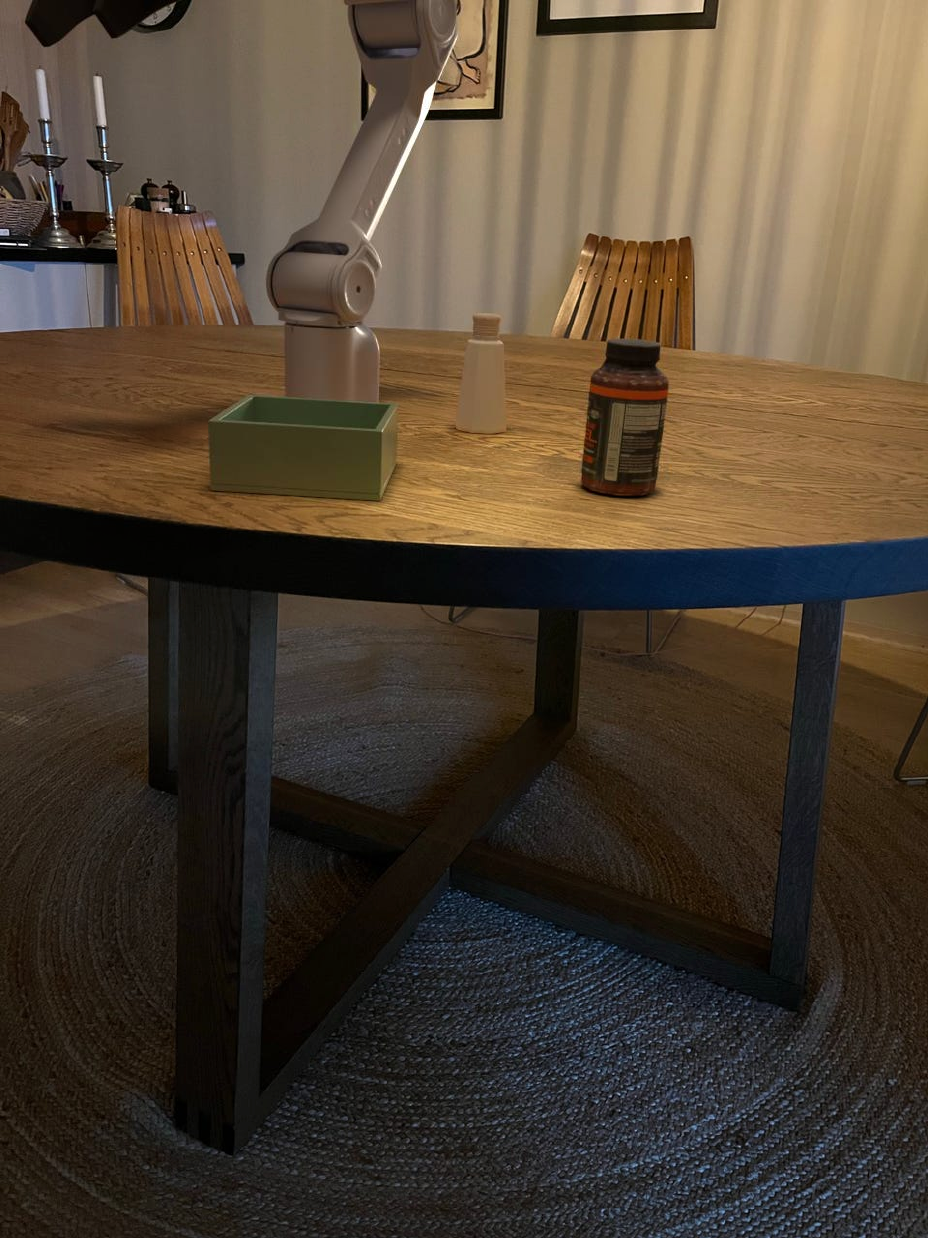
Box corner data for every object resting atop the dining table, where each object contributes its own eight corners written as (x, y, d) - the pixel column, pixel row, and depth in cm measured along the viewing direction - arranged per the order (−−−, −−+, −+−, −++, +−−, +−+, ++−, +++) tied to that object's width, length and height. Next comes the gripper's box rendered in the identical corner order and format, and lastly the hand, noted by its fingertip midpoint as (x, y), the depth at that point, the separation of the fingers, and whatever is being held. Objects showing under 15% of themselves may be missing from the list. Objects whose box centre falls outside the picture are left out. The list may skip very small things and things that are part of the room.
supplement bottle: (573, 478, 81) (587, 334, 77) (644, 481, 82) (662, 338, 78) (587, 497, 76) (603, 343, 71) (664, 499, 76) (684, 347, 72)
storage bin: (249, 455, 83) (248, 394, 81) (396, 464, 82) (398, 403, 81) (210, 490, 71) (207, 420, 69) (380, 501, 71) (382, 430, 69)
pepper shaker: (513, 427, 101) (522, 314, 97) (498, 436, 96) (506, 317, 92) (463, 421, 103) (469, 310, 99) (445, 429, 98) (451, 313, 94)
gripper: (69, -134, 75) (-33, -15, 71) (204, -171, 68) (98, -41, 63) (129, -40, 81) (38, 75, 76) (259, -65, 73) (166, 61, 69)
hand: (70, 29), depth 70 cm, fingers open, 7 cm apart
